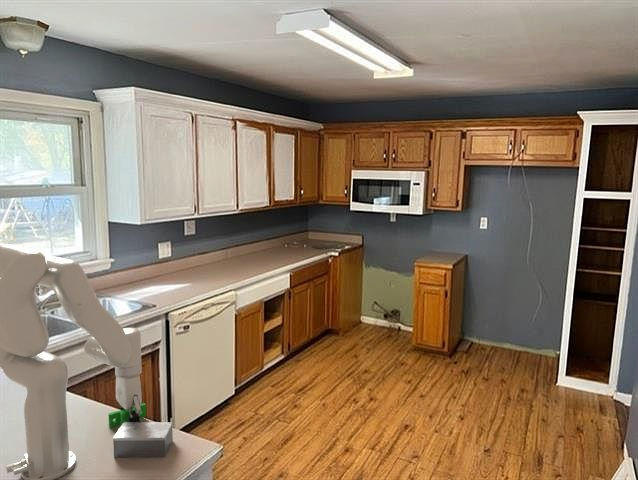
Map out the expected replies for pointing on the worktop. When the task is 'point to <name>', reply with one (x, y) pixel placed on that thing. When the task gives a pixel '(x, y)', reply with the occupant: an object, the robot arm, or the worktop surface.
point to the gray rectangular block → (143, 440)
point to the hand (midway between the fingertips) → (130, 422)
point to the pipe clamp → (124, 416)
